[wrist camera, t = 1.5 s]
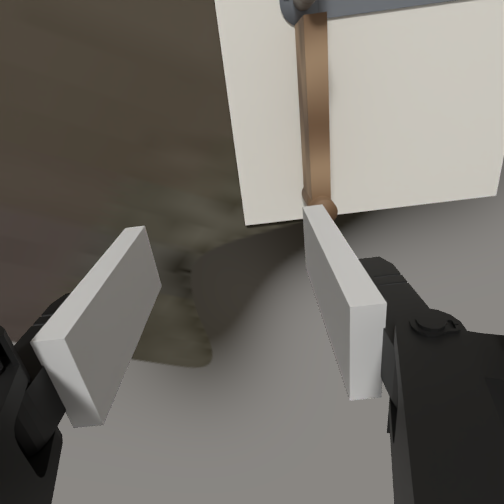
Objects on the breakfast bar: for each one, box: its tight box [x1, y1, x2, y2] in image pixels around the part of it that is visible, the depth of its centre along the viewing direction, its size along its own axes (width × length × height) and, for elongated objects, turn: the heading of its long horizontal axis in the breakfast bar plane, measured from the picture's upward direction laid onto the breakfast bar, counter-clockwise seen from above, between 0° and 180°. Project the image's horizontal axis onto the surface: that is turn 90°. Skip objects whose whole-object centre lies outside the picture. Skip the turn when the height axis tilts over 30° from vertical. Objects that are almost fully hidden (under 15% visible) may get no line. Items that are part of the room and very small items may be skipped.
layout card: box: [215, 0, 504, 225], centre depth 24 cm, size 22×28×1 cm
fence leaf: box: [295, 12, 338, 221], centre depth 24 cm, size 13×2×5 cm, turn 7°
